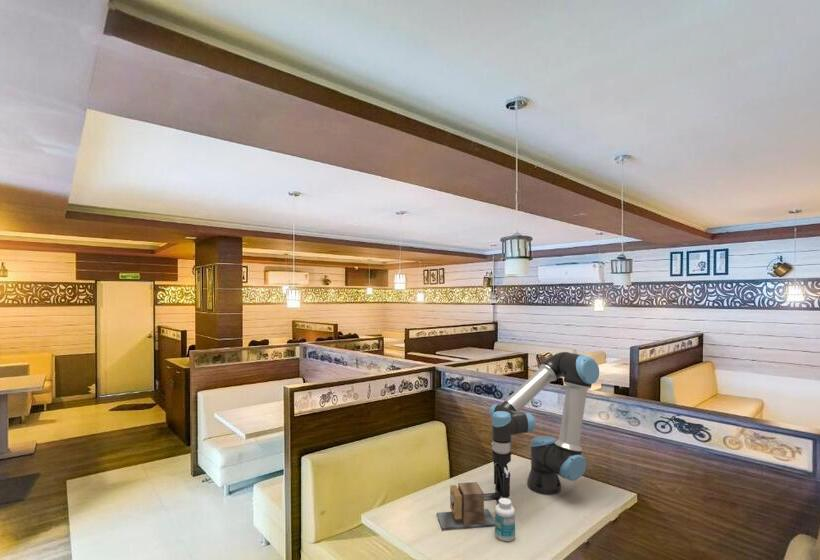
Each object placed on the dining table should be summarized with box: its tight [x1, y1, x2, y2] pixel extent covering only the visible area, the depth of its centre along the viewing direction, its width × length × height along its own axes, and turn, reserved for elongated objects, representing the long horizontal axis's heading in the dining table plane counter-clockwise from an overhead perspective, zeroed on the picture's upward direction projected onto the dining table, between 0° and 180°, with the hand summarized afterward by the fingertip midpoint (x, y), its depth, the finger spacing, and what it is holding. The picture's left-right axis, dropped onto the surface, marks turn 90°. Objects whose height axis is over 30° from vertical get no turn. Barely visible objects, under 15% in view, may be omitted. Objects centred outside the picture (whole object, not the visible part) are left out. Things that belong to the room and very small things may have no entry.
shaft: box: [451, 487, 509, 504], centre depth 170 cm, size 23×4×5 cm, turn 97°
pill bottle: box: [494, 498, 516, 542], centre depth 159 cm, size 8×7×14 cm
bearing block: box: [436, 481, 495, 531], centre depth 169 cm, size 22×11×13 cm, turn 97°
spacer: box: [449, 484, 462, 519], centre depth 169 cm, size 2×9×9 cm, turn 7°
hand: (501, 507), depth 171 cm, fingers closed on shaft, 4 cm apart
